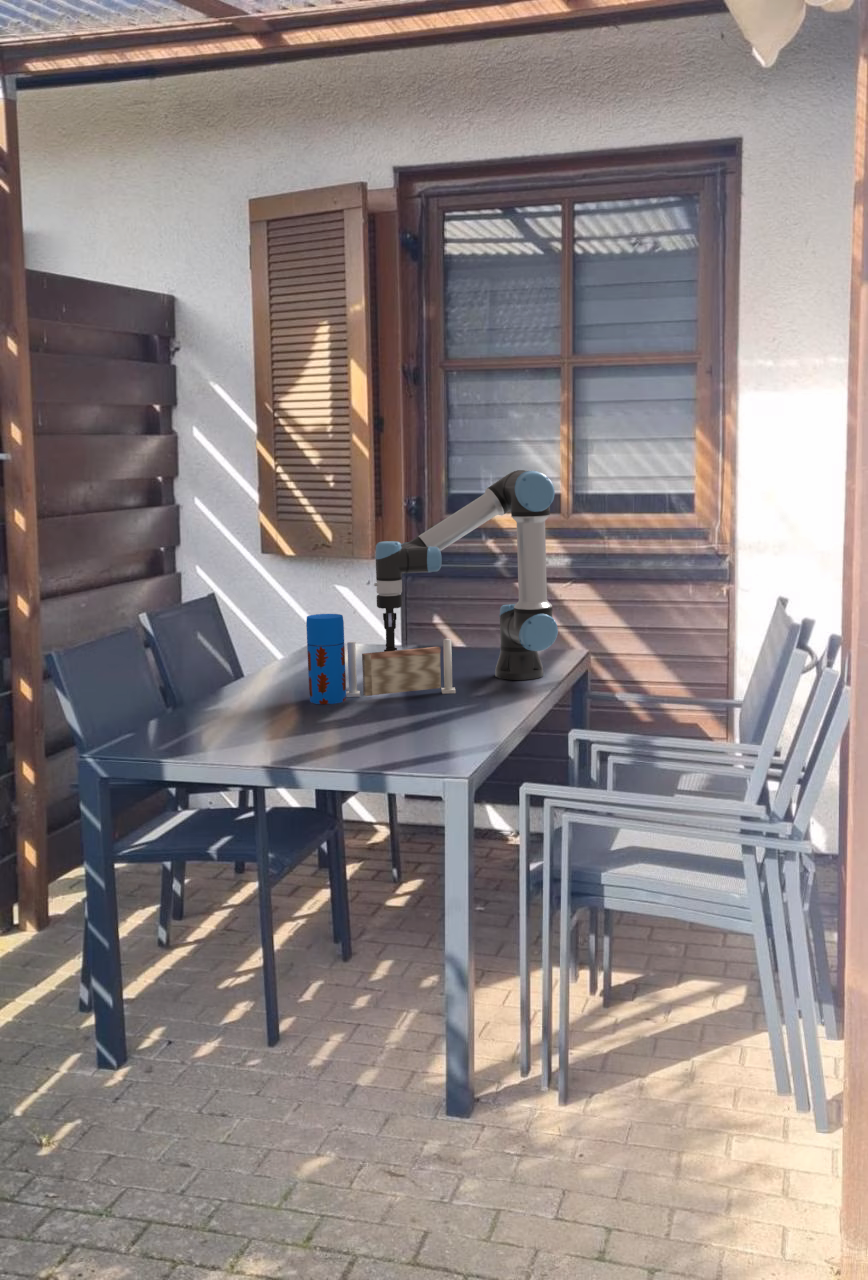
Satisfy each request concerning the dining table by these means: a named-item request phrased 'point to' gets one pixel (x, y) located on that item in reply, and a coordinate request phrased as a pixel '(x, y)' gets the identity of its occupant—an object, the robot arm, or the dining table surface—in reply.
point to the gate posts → (353, 676)
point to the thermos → (326, 658)
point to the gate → (401, 671)
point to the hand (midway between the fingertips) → (391, 672)
